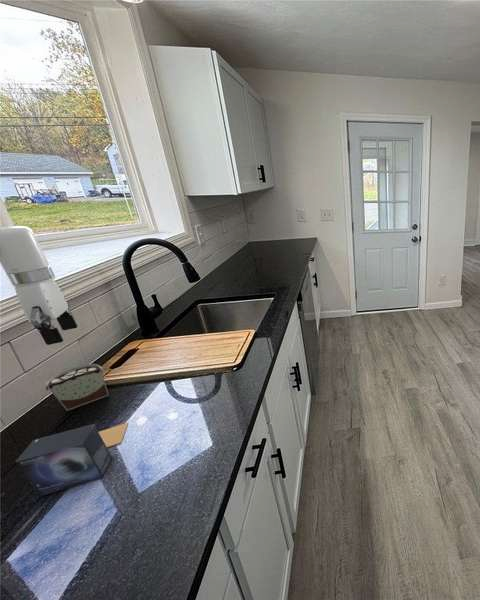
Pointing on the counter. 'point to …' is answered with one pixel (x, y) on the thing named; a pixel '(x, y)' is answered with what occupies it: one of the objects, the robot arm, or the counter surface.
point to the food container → (78, 386)
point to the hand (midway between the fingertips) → (63, 335)
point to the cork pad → (113, 435)
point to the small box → (65, 459)
